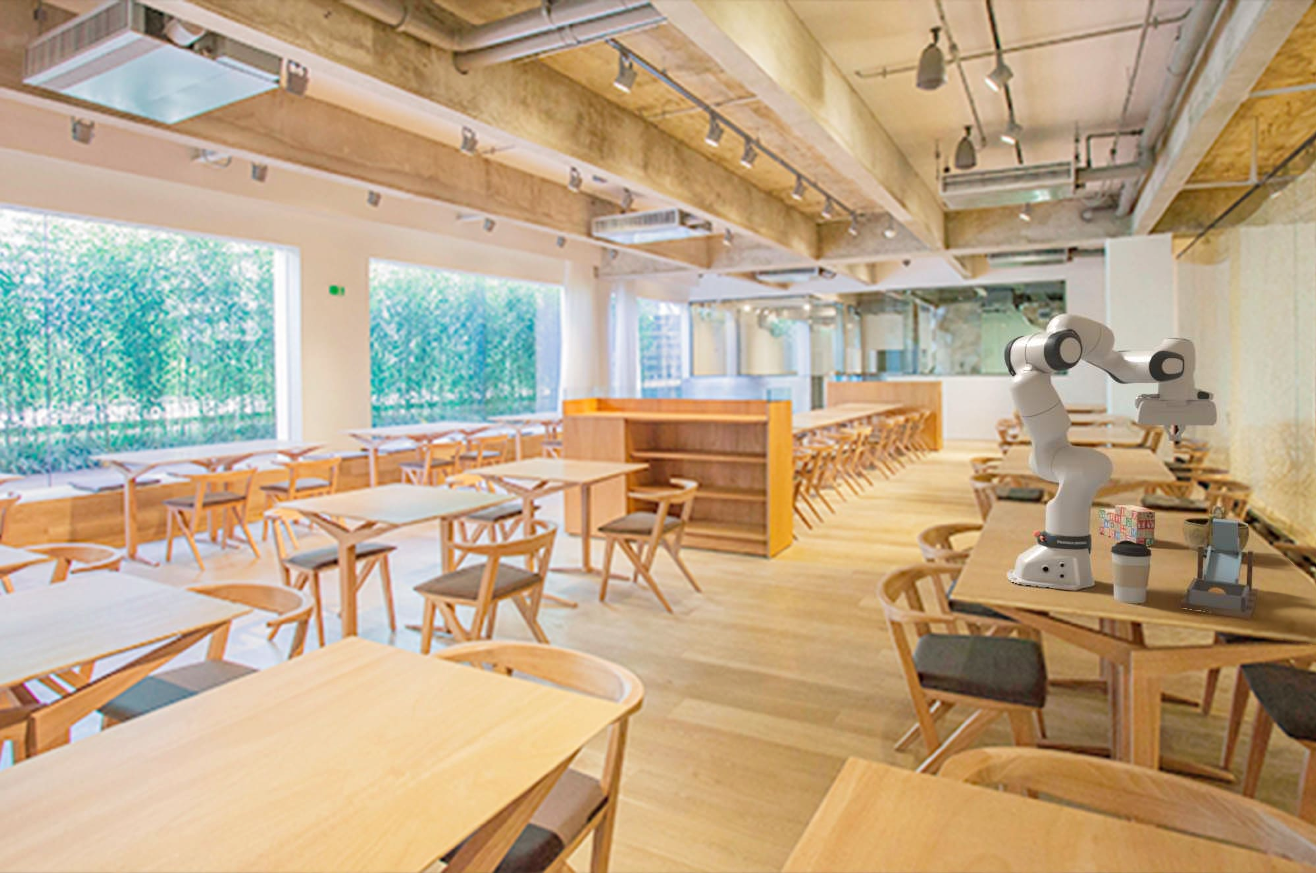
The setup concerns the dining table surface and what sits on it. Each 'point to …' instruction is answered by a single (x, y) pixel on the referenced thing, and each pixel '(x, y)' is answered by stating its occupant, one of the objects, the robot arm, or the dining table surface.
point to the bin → (1218, 595)
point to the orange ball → (1216, 590)
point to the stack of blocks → (1128, 523)
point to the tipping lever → (1224, 554)
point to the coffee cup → (1130, 571)
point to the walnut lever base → (1225, 612)
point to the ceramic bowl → (1210, 530)
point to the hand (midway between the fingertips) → (1173, 440)
